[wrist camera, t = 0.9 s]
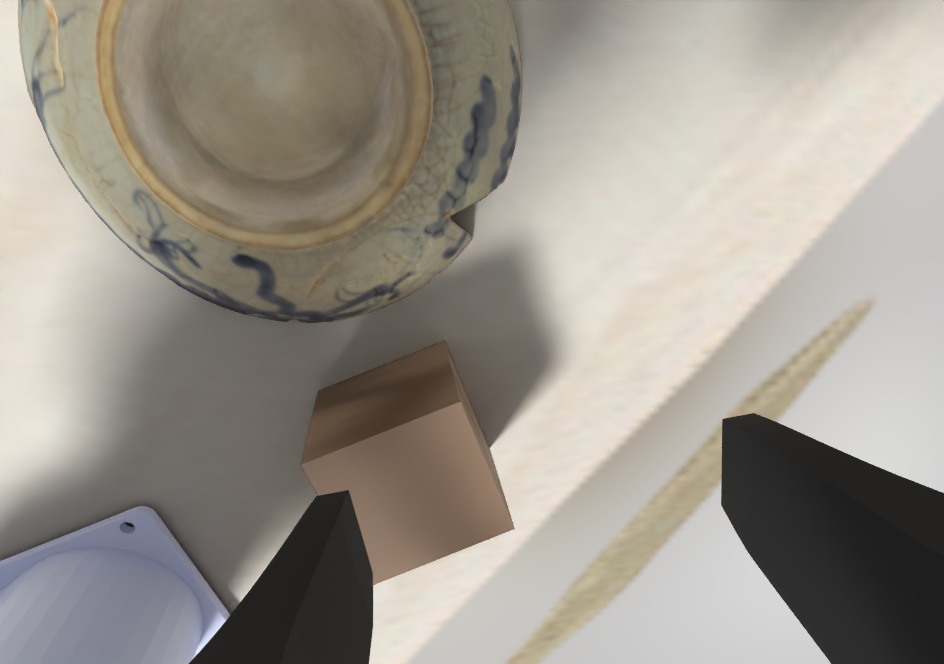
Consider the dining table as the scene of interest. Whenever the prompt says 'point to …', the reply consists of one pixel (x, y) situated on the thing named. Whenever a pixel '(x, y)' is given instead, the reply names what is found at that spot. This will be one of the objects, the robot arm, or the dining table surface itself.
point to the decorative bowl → (280, 137)
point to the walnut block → (407, 461)
